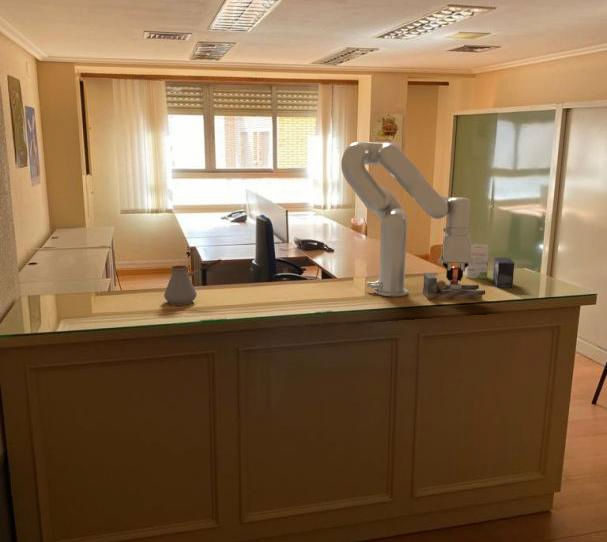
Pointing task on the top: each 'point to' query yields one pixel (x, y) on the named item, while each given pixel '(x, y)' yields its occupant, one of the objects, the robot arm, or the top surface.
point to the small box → (503, 272)
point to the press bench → (450, 291)
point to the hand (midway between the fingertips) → (454, 279)
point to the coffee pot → (182, 285)
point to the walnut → (440, 285)
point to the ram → (454, 280)
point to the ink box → (478, 262)
